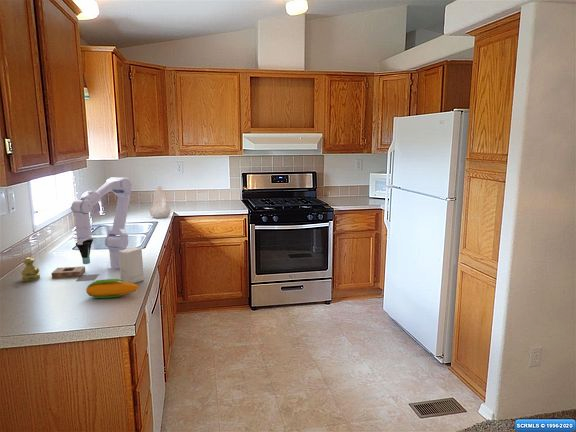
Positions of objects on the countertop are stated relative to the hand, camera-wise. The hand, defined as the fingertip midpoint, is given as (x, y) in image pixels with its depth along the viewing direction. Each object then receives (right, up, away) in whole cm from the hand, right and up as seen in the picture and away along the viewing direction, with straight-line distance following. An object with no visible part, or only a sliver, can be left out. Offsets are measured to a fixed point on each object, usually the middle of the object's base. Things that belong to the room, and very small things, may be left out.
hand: (85, 256), depth 192 cm
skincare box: (+22, -11, -3) cm, 25 cm away
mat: (0, -10, +2) cm, 10 cm away
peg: (0, -3, +1) cm, 3 cm away
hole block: (-10, -9, +6) cm, 15 cm away
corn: (+21, -14, -20) cm, 32 cm away
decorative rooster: (-10, +16, +145) cm, 146 cm away
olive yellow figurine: (-25, -11, +1) cm, 27 cm away
